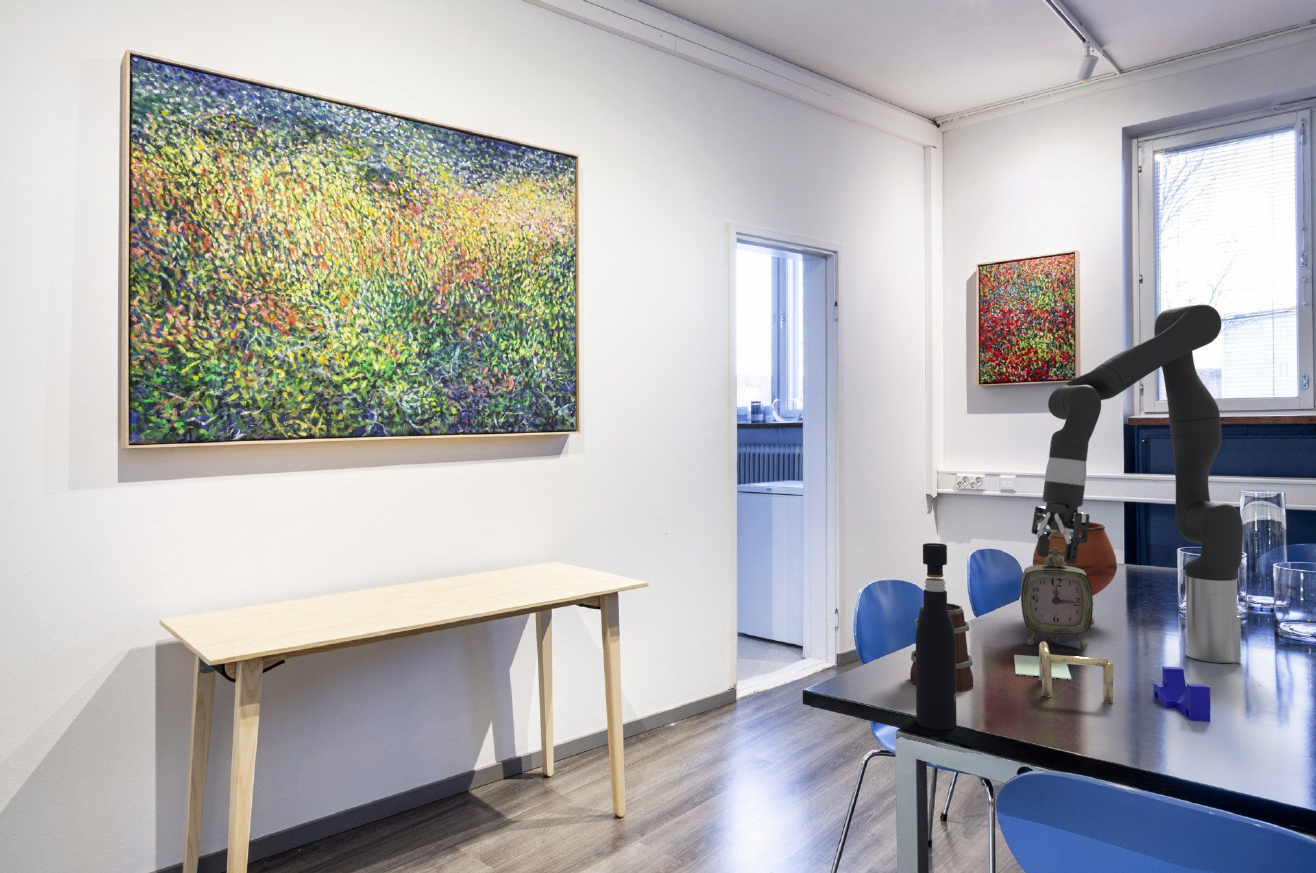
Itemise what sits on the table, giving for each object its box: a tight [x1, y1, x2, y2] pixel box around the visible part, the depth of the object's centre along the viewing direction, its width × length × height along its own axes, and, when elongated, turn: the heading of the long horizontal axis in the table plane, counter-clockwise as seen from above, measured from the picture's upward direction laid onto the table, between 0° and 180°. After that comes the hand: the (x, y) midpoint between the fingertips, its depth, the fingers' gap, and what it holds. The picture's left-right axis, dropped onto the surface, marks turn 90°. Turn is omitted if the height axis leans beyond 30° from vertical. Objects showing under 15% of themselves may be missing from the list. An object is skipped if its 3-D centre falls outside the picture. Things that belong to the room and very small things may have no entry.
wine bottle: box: [915, 542, 958, 731], centre depth 140 cm, size 6×6×30 cm
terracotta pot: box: [1032, 521, 1118, 625], centre depth 213 cm, size 19×19×25 cm
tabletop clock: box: [1020, 535, 1094, 650], centre depth 190 cm, size 14×9×25 cm, turn 68°
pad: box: [1013, 654, 1072, 681], centre depth 172 cm, size 10×15×1 cm, turn 158°
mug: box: [909, 602, 974, 692], centre depth 164 cm, size 16×12×15 cm
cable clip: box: [1152, 665, 1211, 723], centre depth 146 cm, size 12×4×6 cm, turn 169°
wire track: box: [1038, 641, 1114, 704], centre depth 157 cm, size 12×12×8 cm
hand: (1055, 559), depth 172 cm, fingers open, 8 cm apart
